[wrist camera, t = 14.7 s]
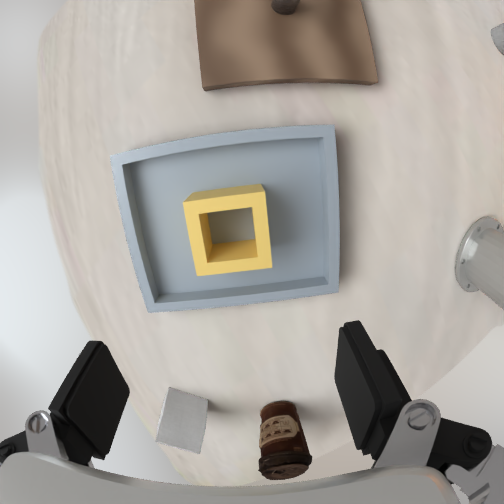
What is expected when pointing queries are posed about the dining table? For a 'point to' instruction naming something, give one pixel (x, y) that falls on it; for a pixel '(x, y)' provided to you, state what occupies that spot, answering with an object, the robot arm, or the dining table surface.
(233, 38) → the board
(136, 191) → the tray
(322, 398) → the dining table surface
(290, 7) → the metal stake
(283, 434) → the coffee cup
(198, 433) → the grey house shaped block
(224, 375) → the dining table surface
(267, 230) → the collar
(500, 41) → the house plant
